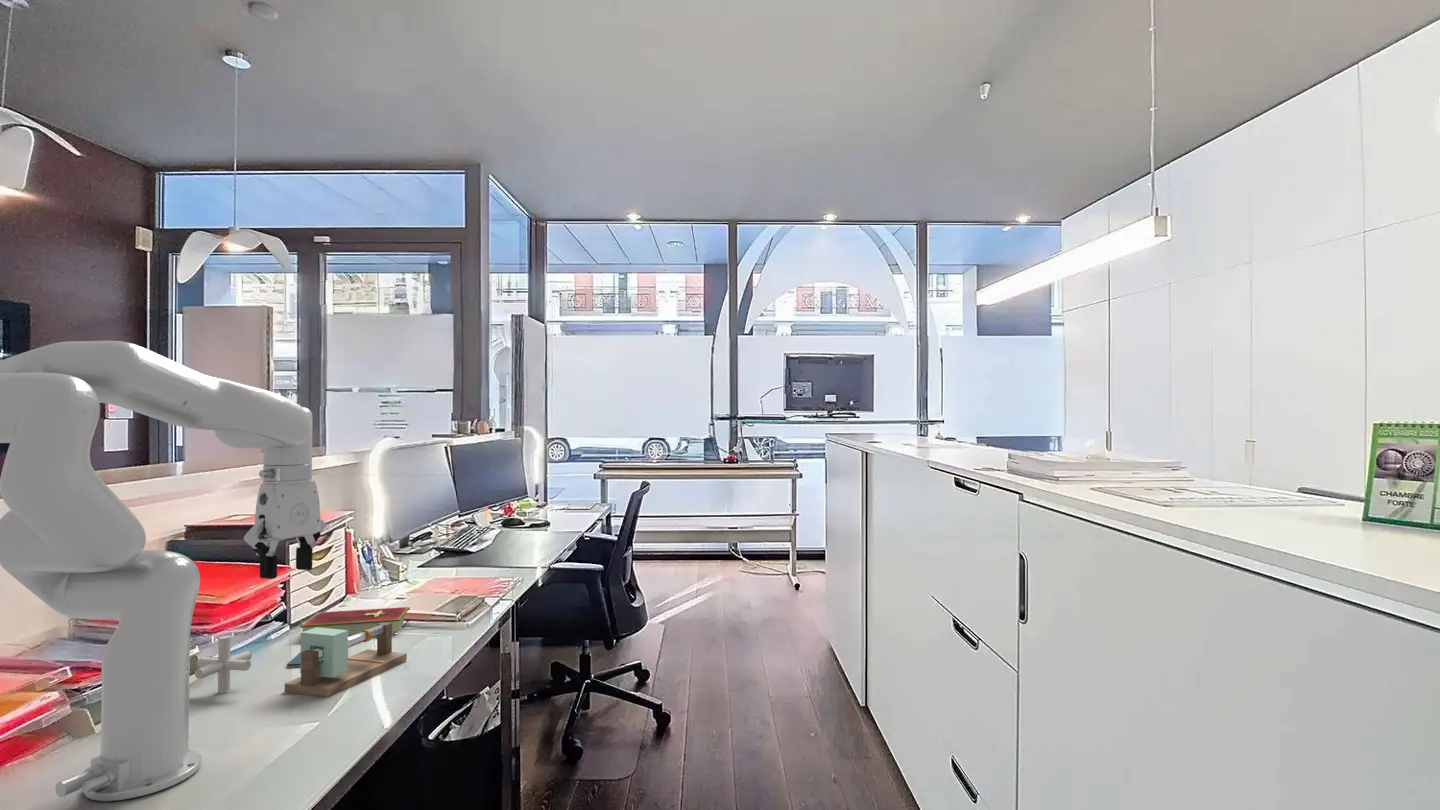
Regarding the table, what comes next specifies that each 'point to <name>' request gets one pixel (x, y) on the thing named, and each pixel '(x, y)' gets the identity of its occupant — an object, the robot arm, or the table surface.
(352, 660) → the rod stand
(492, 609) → the table surface
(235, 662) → the pipe connector
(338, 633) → the collar
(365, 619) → the hardcover book
